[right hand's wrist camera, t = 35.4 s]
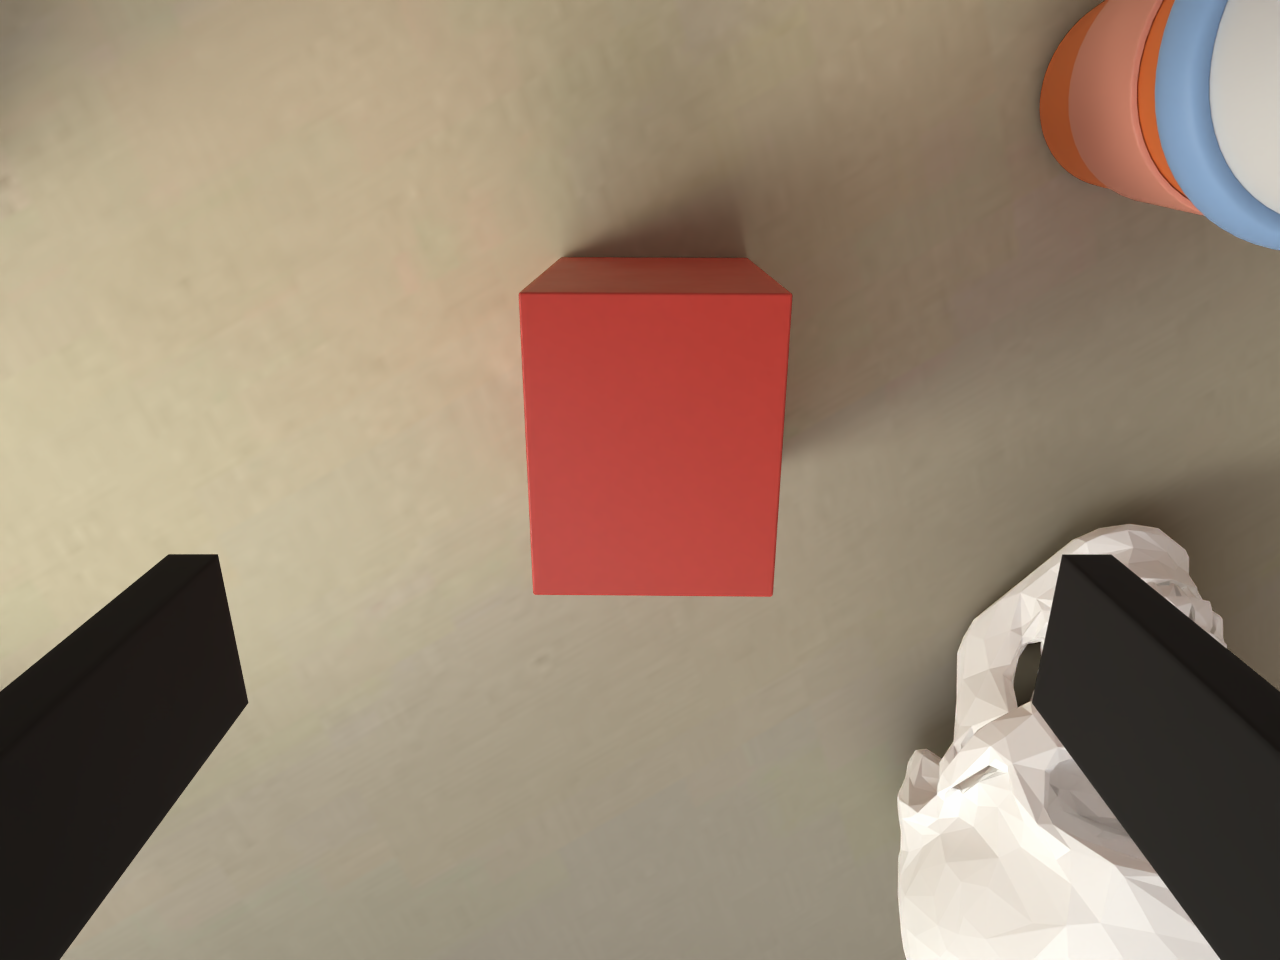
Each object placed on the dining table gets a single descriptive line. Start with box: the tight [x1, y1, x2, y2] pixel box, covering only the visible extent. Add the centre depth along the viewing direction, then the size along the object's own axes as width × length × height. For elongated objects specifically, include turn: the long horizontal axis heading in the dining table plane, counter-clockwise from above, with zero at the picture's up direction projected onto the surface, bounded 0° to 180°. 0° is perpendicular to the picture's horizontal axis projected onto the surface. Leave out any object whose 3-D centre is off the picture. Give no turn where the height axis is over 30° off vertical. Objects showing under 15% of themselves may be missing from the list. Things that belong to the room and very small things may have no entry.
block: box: [519, 257, 792, 597], centre depth 27 cm, size 9×7×10 cm
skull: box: [897, 524, 1227, 960], centre depth 30 cm, size 13×22×16 cm, turn 175°
